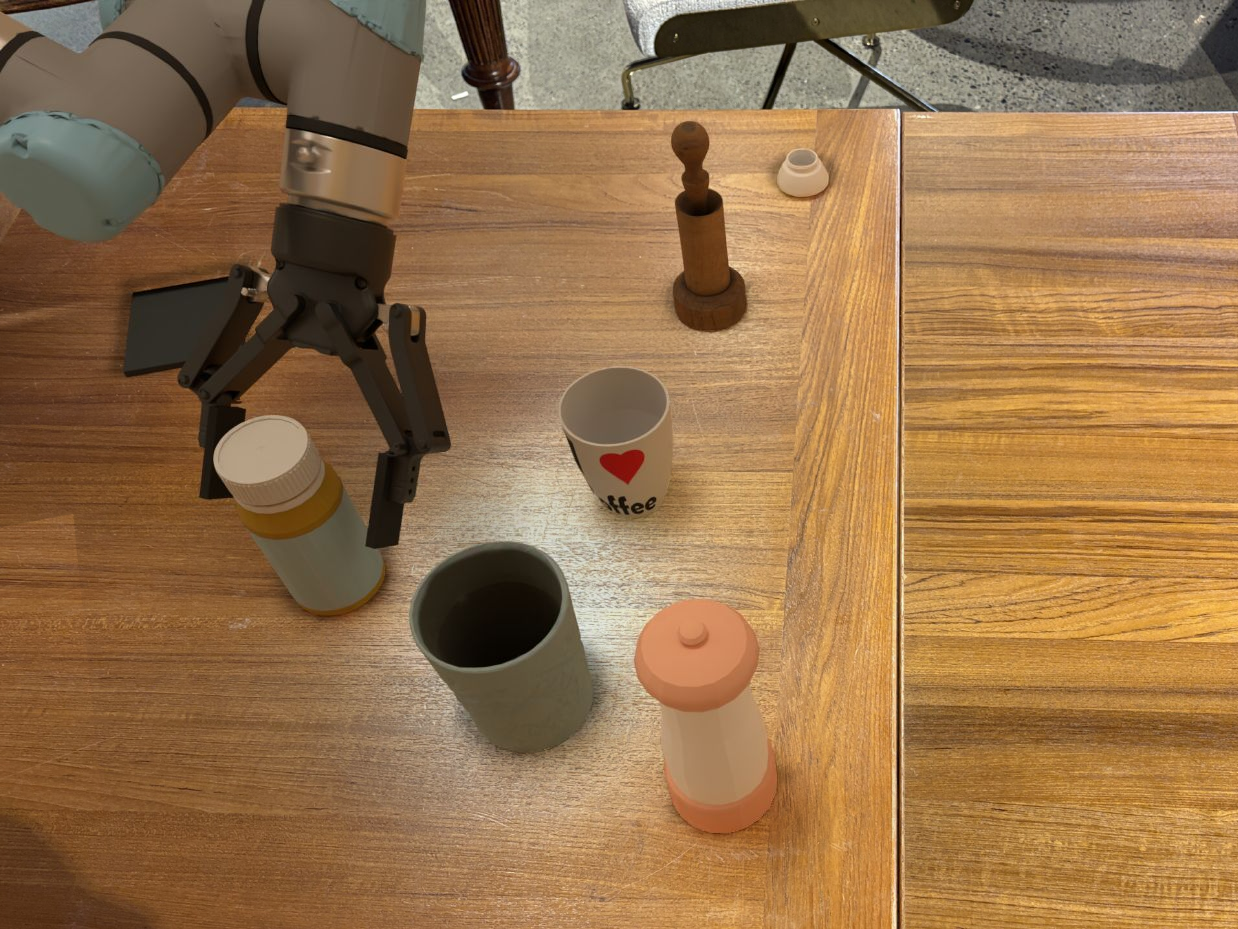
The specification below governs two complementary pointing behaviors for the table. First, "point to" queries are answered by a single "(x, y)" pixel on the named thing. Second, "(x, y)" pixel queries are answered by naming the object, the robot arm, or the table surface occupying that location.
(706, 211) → the mortar and pestle
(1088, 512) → the table surface
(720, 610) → the pepper shaker
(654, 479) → the cup
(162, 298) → the mat
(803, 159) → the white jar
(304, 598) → the bottle
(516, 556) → the grey cylindrical pot
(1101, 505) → the table surface
